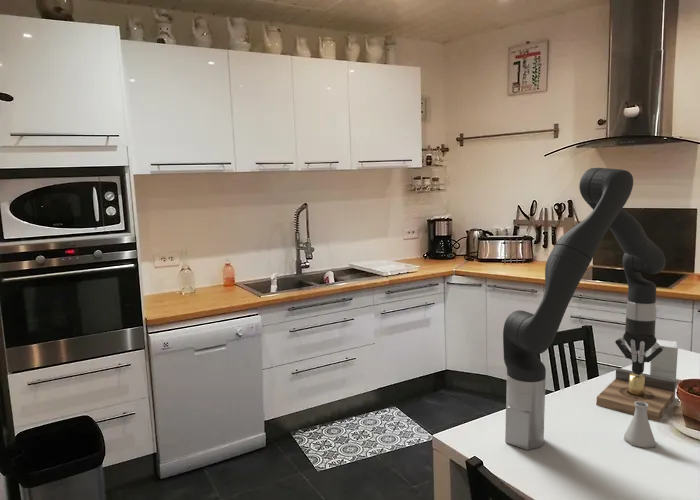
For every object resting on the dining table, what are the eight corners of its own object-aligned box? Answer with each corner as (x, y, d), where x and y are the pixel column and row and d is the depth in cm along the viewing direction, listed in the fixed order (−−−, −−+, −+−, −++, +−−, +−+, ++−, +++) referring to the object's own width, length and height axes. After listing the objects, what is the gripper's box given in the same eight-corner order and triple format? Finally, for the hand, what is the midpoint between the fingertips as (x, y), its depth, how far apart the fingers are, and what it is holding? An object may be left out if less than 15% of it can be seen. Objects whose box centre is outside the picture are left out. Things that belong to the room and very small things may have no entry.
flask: (660, 450, 124) (663, 411, 123) (628, 447, 126) (630, 409, 125) (649, 435, 131) (652, 398, 130) (619, 433, 133) (621, 396, 132)
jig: (658, 421, 139) (659, 402, 138) (596, 404, 150) (597, 387, 149) (674, 397, 153) (675, 380, 153) (617, 384, 164) (617, 368, 163)
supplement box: (675, 378, 168) (678, 341, 166) (675, 386, 162) (678, 347, 160) (649, 374, 172) (651, 338, 170) (648, 382, 166) (650, 344, 164)
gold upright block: (641, 405, 149) (642, 379, 148) (626, 401, 151) (627, 375, 150) (645, 401, 152) (646, 375, 151) (630, 397, 154) (631, 372, 153)
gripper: (612, 315, 150) (609, 372, 152) (663, 323, 141) (660, 383, 143) (619, 310, 155) (617, 365, 158) (669, 317, 146) (666, 375, 149)
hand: (637, 373), depth 150 cm, fingers closed
